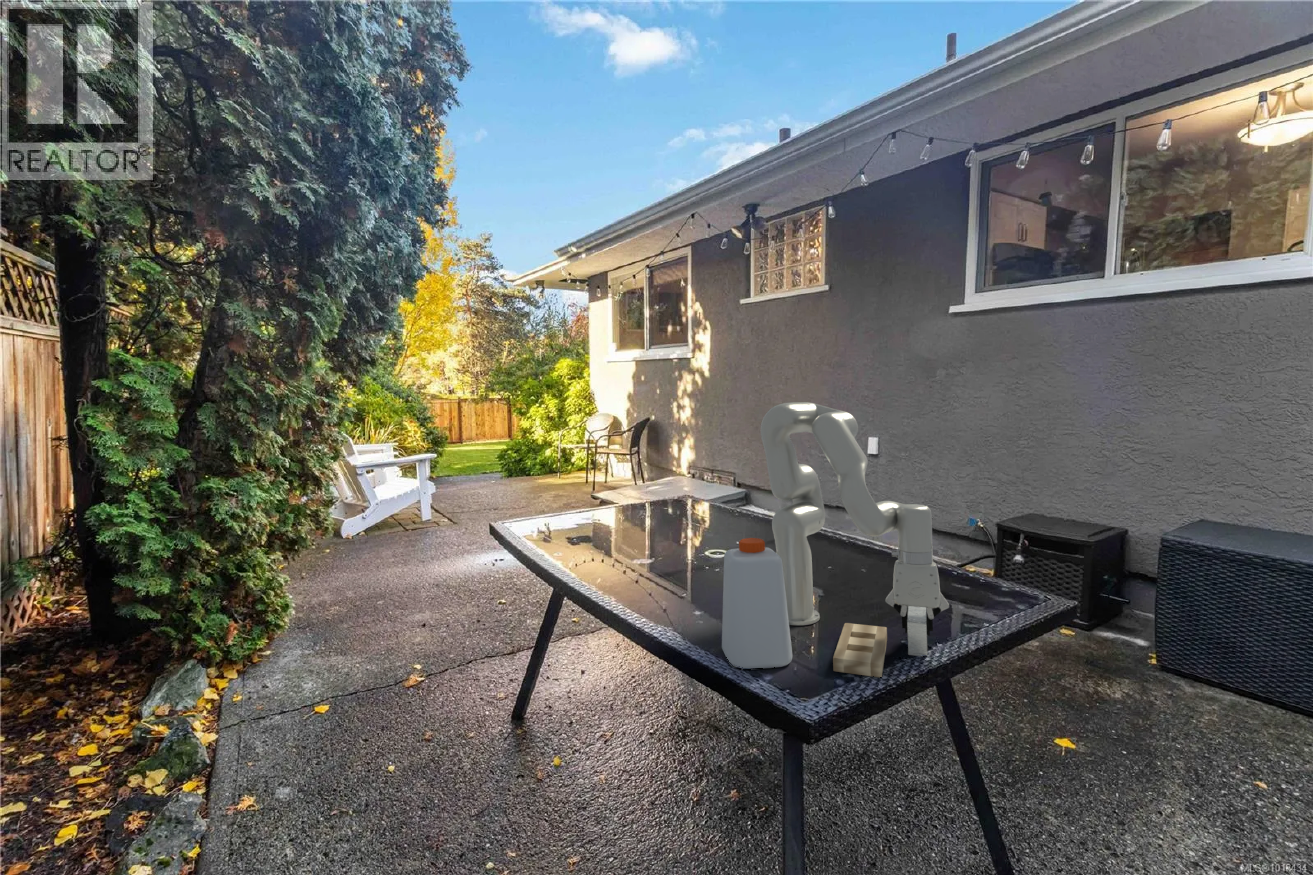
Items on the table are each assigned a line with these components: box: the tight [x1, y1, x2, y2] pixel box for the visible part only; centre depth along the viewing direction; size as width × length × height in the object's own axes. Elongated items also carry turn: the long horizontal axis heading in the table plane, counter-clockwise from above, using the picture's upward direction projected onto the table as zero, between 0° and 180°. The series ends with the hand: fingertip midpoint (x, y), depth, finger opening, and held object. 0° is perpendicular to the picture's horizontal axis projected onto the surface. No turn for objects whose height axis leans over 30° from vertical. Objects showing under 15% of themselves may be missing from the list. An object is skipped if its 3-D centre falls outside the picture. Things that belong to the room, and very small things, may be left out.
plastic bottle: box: [721, 537, 793, 669], centre depth 137 cm, size 15×15×28 cm
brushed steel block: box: [907, 606, 928, 657], centre depth 138 cm, size 4×12×8 cm, turn 155°
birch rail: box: [832, 622, 888, 678], centre depth 136 cm, size 10×22×3 cm, turn 155°
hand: (917, 631), depth 138 cm, fingers closed on brushed steel block, 4 cm apart
